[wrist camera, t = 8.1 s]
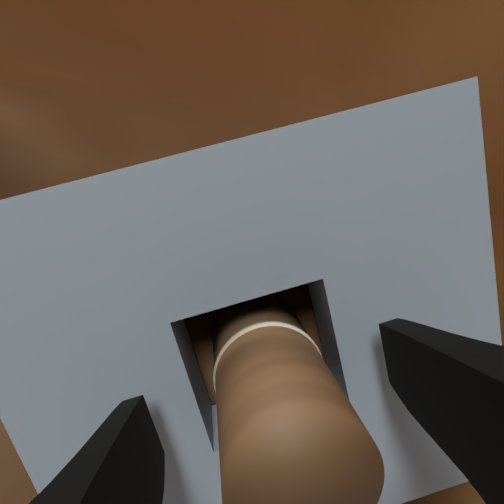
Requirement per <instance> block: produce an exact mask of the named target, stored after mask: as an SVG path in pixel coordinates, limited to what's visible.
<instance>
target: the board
mask: <svg viewBox="0 0 504 504" xmlns="http://www.w3.org/2000/svg"><path fill="white" fill-rule="evenodd" d="M306 283H308V287H309V292H310V296H311V300H312V305H313V309H314V314H315V318H316V322H317V327H318V331H319V336H320V340H321V344H322V349H323V353H324V358H325V362H326V365H327V366H328V368H329V369H330V371H331V373H332V374H333V376H334V377H335V379H336V381H337V382H338V384H339V385H340V387H341V389H342V390H343V392H344V393H345V395H346V397H347V398H348V400H349V401H350V403H351V405H352V406H353V408H354V410H355V411H356V413H357V414H358V416H359V418H360V419H361V421H362V422H363V424H364V426H365V427H366V429H367V430H368V432H369V434H370V435H371V437H372V438H373V440H374V442H375V443H376V445H377V447H378V449H379V450H380V453H381V456H382V458H383V463H384V473H385V477H384V485H383V490H382V494H381V496H380V499H379V501H378V503H377V504H402V503H405V502H408V501H411V500H414V499H417V498H420V497H423V496H426V495H429V494H432V493H435V492H438V491H441V490H444V489H447V488H450V487H453V486H456V485H459V484H462V483H465V482H468V481H469V480H468V479H467V478H466V477H465V476H464V474H463V473H462V472H461V471H460V470H459V469H458V467H457V466H456V465H455V464H454V463H453V462H452V461H451V459H450V458H449V457H448V456H447V455H446V454H445V453H444V452H443V450H442V449H441V448H440V447H439V446H438V445H437V444H436V442H435V441H434V440H433V439H432V438H431V437H430V436H429V434H428V433H427V432H426V431H425V430H424V429H423V427H422V426H421V425H420V424H419V423H418V422H417V421H416V419H415V418H414V417H413V416H412V415H411V413H410V412H409V411H408V410H407V408H406V407H405V405H404V404H403V403H402V401H401V400H400V398H399V397H398V395H397V394H396V392H395V390H394V389H393V387H392V386H391V384H390V383H389V378H388V373H387V367H386V362H385V356H384V351H383V346H382V340H381V335H380V329H379V324H380V323H383V322H386V321H390V320H393V319H396V318H400V319H405V320H409V321H413V322H416V323H420V324H423V325H426V326H430V327H433V328H437V329H440V330H443V331H447V332H450V333H454V334H457V335H461V336H465V337H468V338H472V339H476V340H480V341H484V342H489V343H493V344H497V345H501V346H502V342H501V331H500V320H499V309H498V298H497V287H496V276H495V265H494V254H493V243H492V232H491V221H490V210H489V199H488V187H487V176H486V165H485V154H484V143H483V132H482V121H481V110H480V99H479V88H478V77H474V78H470V79H466V80H462V81H458V82H454V83H451V84H447V85H443V86H439V87H435V88H431V89H427V90H423V91H420V92H416V93H412V94H408V95H404V96H400V97H396V98H393V99H389V100H385V101H381V102H377V103H373V104H369V105H366V106H362V107H358V108H354V109H350V110H346V111H342V112H339V113H335V114H331V115H327V116H323V117H319V118H315V119H312V120H308V121H304V122H300V123H296V124H292V125H288V126H284V127H281V128H277V129H273V130H269V131H265V132H261V133H257V134H254V135H250V136H246V137H242V138H238V139H234V140H230V141H227V142H223V143H219V144H215V145H211V146H207V147H203V148H200V149H196V150H192V151H188V152H184V153H180V154H176V155H173V156H169V157H165V158H161V159H157V160H153V161H149V162H145V163H142V164H138V165H134V166H130V167H126V168H122V169H118V170H115V171H111V172H107V173H103V174H99V175H95V176H91V177H88V178H84V179H80V180H76V181H72V182H68V183H64V184H61V185H57V186H53V187H49V188H45V189H41V190H37V191H34V192H30V193H26V194H22V195H18V196H14V197H10V198H6V199H3V200H0V418H1V420H2V422H3V424H4V426H5V428H6V430H7V432H8V434H9V436H10V438H11V440H12V442H13V444H14V446H15V449H16V451H17V453H18V455H19V457H20V459H21V461H22V463H23V465H24V467H25V469H26V471H27V473H28V475H29V477H30V479H31V481H32V483H33V485H34V487H35V489H36V491H37V493H38V494H39V493H40V492H41V491H42V490H43V489H44V488H45V487H46V486H47V485H48V484H49V483H50V482H51V481H52V480H53V479H54V478H55V477H56V475H57V474H58V473H59V472H60V471H61V470H62V469H63V468H64V467H65V466H66V465H67V463H68V462H69V461H70V460H71V459H72V458H73V457H74V456H75V455H76V454H77V452H78V451H79V450H80V449H81V448H82V447H83V445H84V444H85V443H86V442H87V441H88V440H89V438H90V437H91V436H92V435H93V434H94V433H95V431H96V430H97V429H98V428H99V427H100V425H101V424H102V423H103V422H104V421H105V420H106V418H107V417H108V416H109V415H110V414H111V412H112V411H113V410H114V409H115V408H116V407H117V406H118V405H119V404H120V403H121V402H122V401H124V400H127V399H131V398H134V397H137V396H141V395H143V396H144V399H145V401H146V404H147V407H148V409H149V412H150V415H151V417H152V420H153V423H154V425H155V428H156V431H157V433H158V436H159V439H160V441H161V444H162V447H163V449H164V452H165V482H164V495H163V503H162V504H222V494H221V476H220V459H219V441H218V424H217V407H216V404H215V405H211V402H210V399H209V396H208V393H207V390H206V387H205V384H204V381H203V378H202V374H201V371H200V368H199V365H198V362H197V359H196V356H195V353H194V350H193V347H192V344H191V341H190V338H189V335H188V331H187V328H186V325H185V322H184V319H185V318H188V317H192V316H195V315H199V314H202V313H206V312H209V311H213V310H216V309H220V308H223V307H227V306H230V305H233V304H237V303H240V302H244V301H247V300H251V299H254V298H258V297H261V296H265V295H268V294H272V293H275V292H278V291H282V290H285V289H289V288H292V287H296V286H299V285H303V284H306Z"/></svg>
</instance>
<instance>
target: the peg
mask: <svg viewBox="0 0 504 504" xmlns="http://www.w3.org/2000/svg"><path fill="white" fill-rule="evenodd" d="M213 354H214V369H213V383H214V389H215V393H216V407H217V424H218V441H219V459H220V476H221V494H222V504H377V503H378V501H379V499H380V496H381V494H382V490H383V485H384V477H385V473H384V463H383V458H382V456H381V453H380V450H379V449H378V447H377V445H376V443H375V442H374V440H373V438H372V437H371V435H370V434H369V432H368V430H367V429H366V427H365V426H364V424H363V422H362V421H361V419H360V418H359V416H358V414H357V413H356V411H355V410H354V408H353V406H352V405H351V403H350V401H349V400H348V398H347V397H346V395H345V393H344V392H343V390H342V389H341V387H340V385H339V384H338V382H337V381H336V379H335V377H334V376H333V374H332V373H331V371H330V369H329V368H328V366H327V365H326V363H325V361H324V360H323V358H322V355H321V353H320V351H319V349H318V347H317V345H316V344H315V342H314V341H313V340H312V338H311V337H310V336H309V335H308V334H307V332H306V331H305V329H304V328H303V326H302V324H301V323H300V321H299V320H298V318H297V316H296V315H295V313H294V312H293V310H292V309H291V308H290V307H289V306H288V305H287V304H285V303H284V302H282V301H281V300H279V299H276V298H274V297H270V296H261V297H258V298H254V299H251V300H247V301H244V302H240V303H237V304H233V305H230V306H228V307H227V308H226V309H225V310H224V311H223V313H222V314H221V315H220V317H219V318H218V320H217V322H216V324H215V327H214V331H213Z"/></svg>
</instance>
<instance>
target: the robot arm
mask: <svg viewBox="0 0 504 504" xmlns="http://www.w3.org/2000/svg"><path fill="white" fill-rule="evenodd" d="M379 329H380V335H381V340H382V346H383V351H384V356H385V362H386V367H387V373H388V378H389V383H390V384H391V386H392V387H393V389H394V390H395V392H396V394H397V395H398V397H399V398H400V400H401V401H402V403H403V404H404V405H405V407H406V408H407V410H408V411H409V412H410V413H411V415H412V416H413V417H414V418H415V419H416V421H417V422H418V423H419V424H420V425H421V426H422V427H423V429H424V430H425V431H426V432H427V433H428V434H429V436H430V437H431V438H432V439H433V440H434V441H435V442H436V444H437V445H438V446H439V447H440V448H441V449H442V450H443V452H444V453H445V454H446V455H447V456H448V457H449V458H450V459H451V461H452V462H453V463H454V464H455V465H456V466H457V467H458V469H459V470H460V471H461V472H462V473H463V474H464V476H465V477H466V478H467V479H468V480H469V482H470V483H471V484H472V485H473V487H474V488H475V489H476V490H477V492H478V493H479V494H480V496H481V497H482V499H483V500H484V501H485V503H486V504H504V346H501V345H497V344H493V343H489V342H484V341H480V340H476V339H472V338H468V337H465V336H461V335H457V334H454V333H450V332H447V331H443V330H440V329H437V328H433V327H430V326H426V325H423V324H420V323H416V322H413V321H409V320H405V319H400V318H396V319H393V320H390V321H386V322H383V323H380V324H379ZM164 482H165V452H164V449H163V447H162V444H161V441H160V439H159V436H158V433H157V431H156V428H155V425H154V423H153V420H152V417H151V415H150V412H149V409H148V407H147V404H146V401H145V399H144V396H143V395H141V396H137V397H134V398H131V399H127V400H124V401H122V402H121V403H120V404H119V405H118V406H117V407H116V408H115V409H114V410H113V411H112V412H111V414H110V415H109V416H108V417H107V418H106V420H105V421H104V422H103V423H102V424H101V425H100V427H99V428H98V429H97V430H96V431H95V433H94V434H93V435H92V436H91V437H90V438H89V440H88V441H87V442H86V443H85V444H84V445H83V447H82V448H81V449H80V450H79V451H78V452H77V454H76V455H75V456H74V457H73V458H72V459H71V460H70V461H69V462H68V463H67V465H66V466H65V467H64V468H63V469H62V470H61V471H60V472H59V473H58V474H57V475H56V477H55V478H54V479H53V480H52V481H51V482H50V483H49V484H48V485H47V486H46V487H45V488H44V489H43V490H42V491H41V492H40V493H39V494H38V495H37V496H36V497H35V498H34V499H33V500H32V501H31V502H30V503H29V504H162V503H163V495H164Z"/></svg>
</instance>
